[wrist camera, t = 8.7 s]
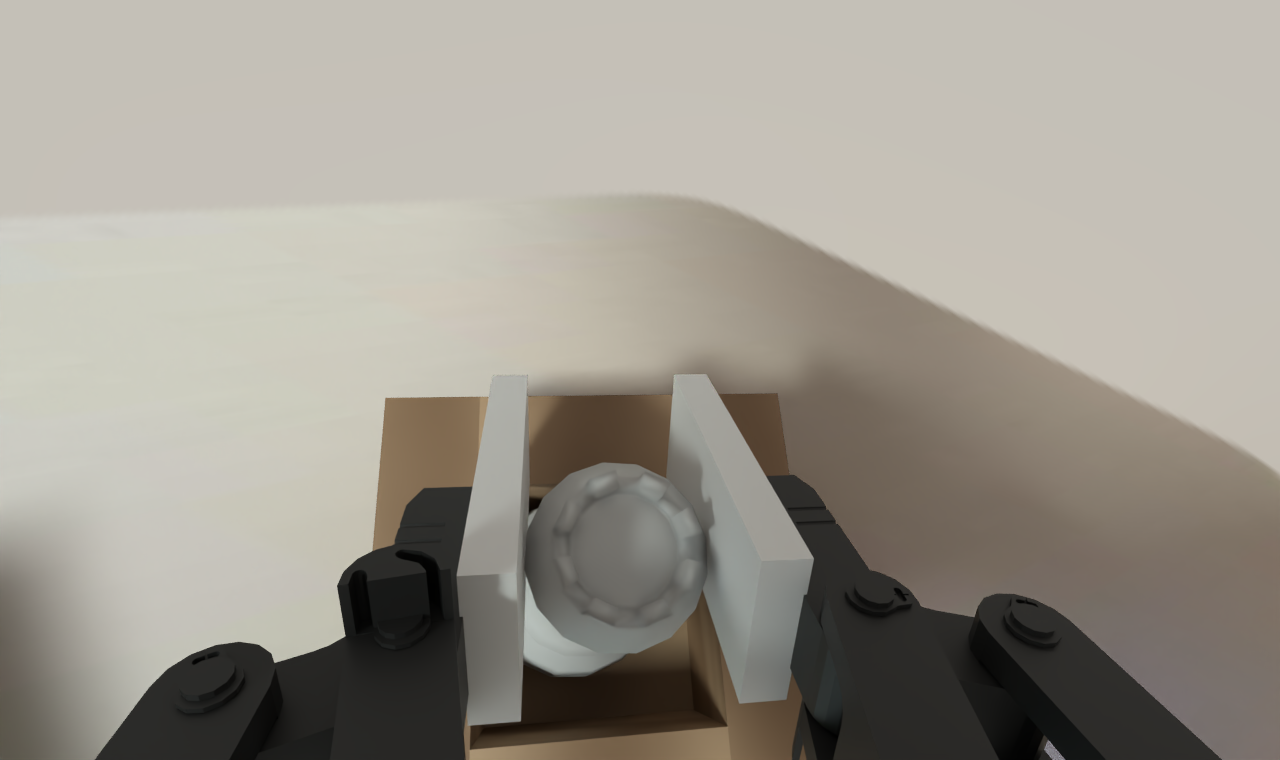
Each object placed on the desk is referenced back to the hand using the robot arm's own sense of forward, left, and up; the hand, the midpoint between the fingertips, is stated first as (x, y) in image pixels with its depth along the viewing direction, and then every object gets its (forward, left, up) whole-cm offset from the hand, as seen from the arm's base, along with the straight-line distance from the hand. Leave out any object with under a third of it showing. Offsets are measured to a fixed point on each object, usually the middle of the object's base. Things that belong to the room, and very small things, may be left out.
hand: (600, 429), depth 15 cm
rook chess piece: (-1, -3, -4) cm, 6 cm away
